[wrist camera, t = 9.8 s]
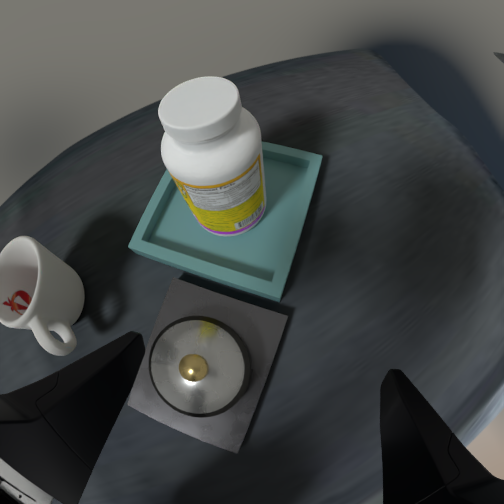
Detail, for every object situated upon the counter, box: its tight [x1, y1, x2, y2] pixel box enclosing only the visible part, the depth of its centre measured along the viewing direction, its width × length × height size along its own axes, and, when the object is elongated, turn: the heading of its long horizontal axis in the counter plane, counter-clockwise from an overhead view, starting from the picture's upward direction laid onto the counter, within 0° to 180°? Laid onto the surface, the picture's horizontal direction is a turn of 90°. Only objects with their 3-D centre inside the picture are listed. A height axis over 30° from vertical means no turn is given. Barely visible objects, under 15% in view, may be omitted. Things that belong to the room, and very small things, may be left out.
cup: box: [0, 236, 85, 356], centre depth 21 cm, size 11×8×8 cm
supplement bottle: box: [158, 76, 266, 237], centre depth 20 cm, size 7×7×13 cm
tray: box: [128, 141, 323, 302], centre depth 26 cm, size 14×14×2 cm
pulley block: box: [127, 277, 288, 454], centre depth 20 cm, size 12×10×4 cm
